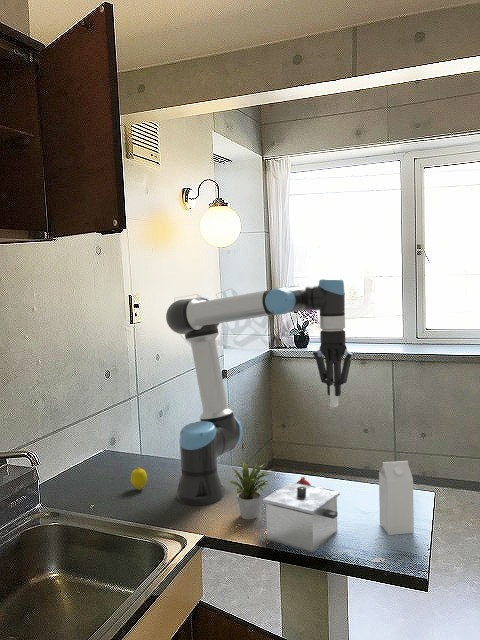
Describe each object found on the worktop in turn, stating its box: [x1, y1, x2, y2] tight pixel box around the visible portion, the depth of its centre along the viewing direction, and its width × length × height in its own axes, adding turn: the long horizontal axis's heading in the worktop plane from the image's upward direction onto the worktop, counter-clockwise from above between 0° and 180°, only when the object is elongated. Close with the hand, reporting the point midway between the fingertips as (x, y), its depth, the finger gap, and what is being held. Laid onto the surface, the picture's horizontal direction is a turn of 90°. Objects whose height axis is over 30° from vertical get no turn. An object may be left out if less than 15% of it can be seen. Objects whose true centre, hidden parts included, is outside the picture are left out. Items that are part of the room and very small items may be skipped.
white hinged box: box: [265, 497, 339, 554], centre depth 152 cm, size 20×14×10 cm
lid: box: [262, 481, 340, 514], centre depth 152 cm, size 15×16×3 cm
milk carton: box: [378, 460, 415, 536], centre depth 154 cm, size 7×7×19 cm
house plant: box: [228, 461, 275, 520], centre depth 165 cm, size 14×14×16 cm
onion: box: [296, 476, 312, 486], centre depth 175 cm, size 6×6×8 cm
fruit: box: [130, 466, 148, 491], centre depth 191 cm, size 6×6×8 cm
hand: (334, 406), depth 172 cm, fingers closed
